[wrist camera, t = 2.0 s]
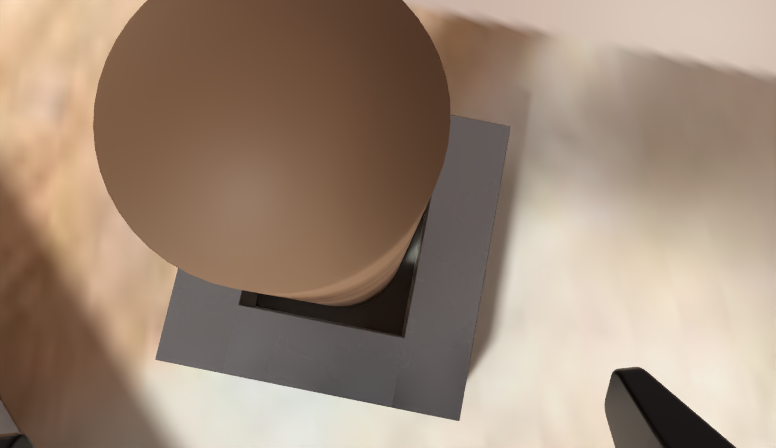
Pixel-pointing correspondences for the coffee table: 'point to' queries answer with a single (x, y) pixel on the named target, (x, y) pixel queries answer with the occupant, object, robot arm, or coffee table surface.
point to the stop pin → (275, 140)
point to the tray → (6, 421)
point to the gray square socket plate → (356, 344)
